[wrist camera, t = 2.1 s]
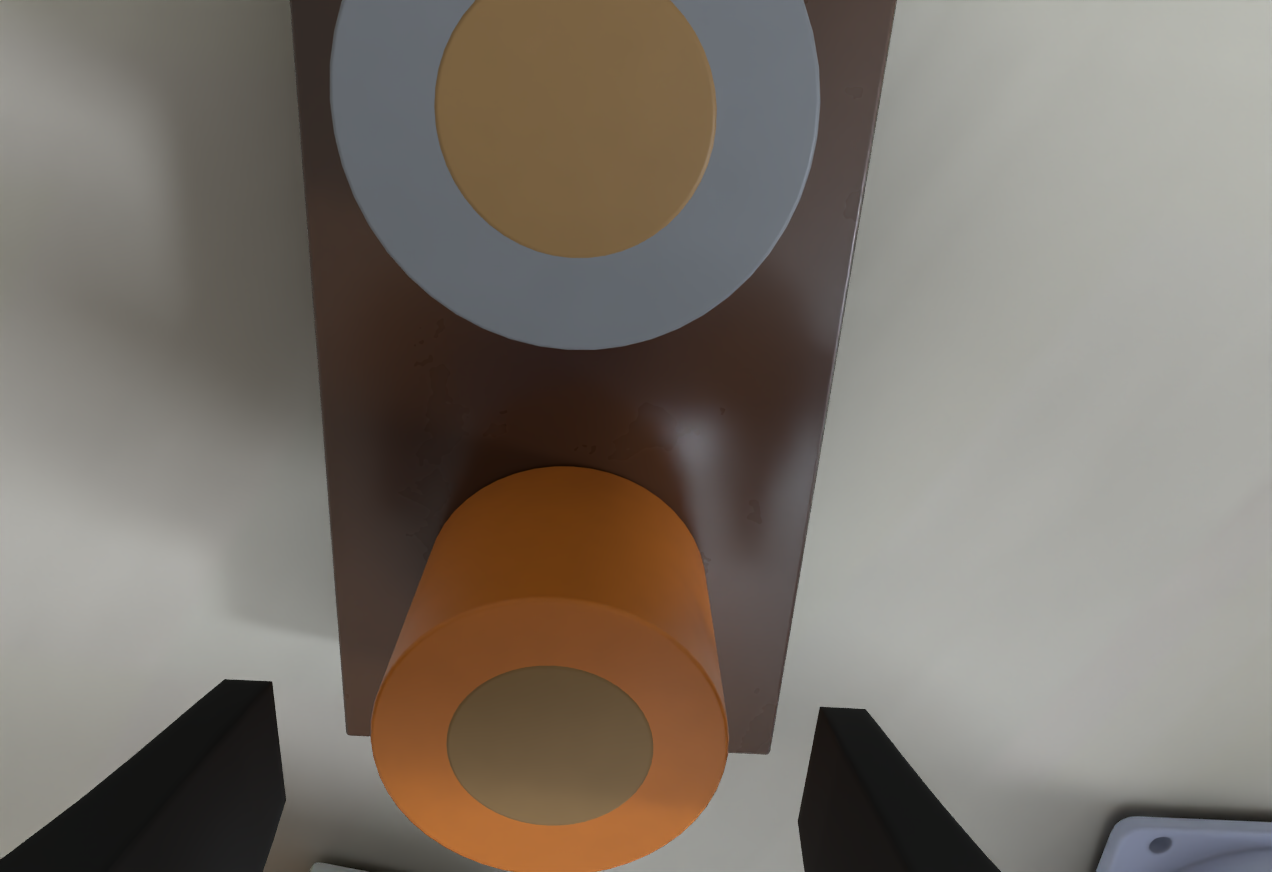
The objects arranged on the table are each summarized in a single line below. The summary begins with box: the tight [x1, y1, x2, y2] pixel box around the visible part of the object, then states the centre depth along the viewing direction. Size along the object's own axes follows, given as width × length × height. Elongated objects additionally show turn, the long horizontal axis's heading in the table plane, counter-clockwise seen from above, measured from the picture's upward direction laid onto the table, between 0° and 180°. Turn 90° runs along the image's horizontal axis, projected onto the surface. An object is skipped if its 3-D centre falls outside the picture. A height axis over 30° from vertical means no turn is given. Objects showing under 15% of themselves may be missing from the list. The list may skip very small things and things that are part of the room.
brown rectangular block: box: [290, 0, 897, 754], centre depth 15 cm, size 8×15×3 cm, turn 176°
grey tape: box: [330, 0, 820, 350], centre depth 10 cm, size 5×5×4 cm
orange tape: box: [371, 466, 729, 872], centre depth 14 cm, size 5×5×4 cm
